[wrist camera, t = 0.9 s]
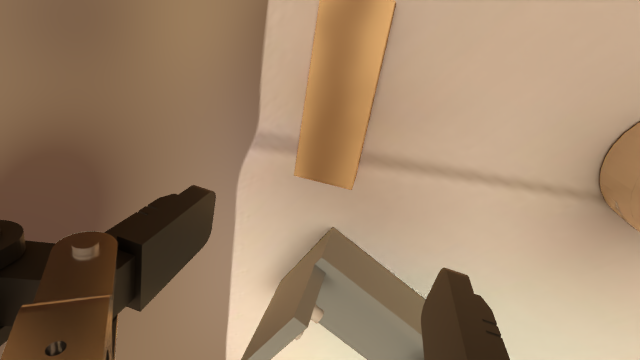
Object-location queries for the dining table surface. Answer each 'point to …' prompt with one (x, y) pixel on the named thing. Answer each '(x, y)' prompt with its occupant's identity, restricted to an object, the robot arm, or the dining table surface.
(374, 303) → the grey rack
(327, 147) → the shelf board
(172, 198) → the robot arm
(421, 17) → the dining table surface
